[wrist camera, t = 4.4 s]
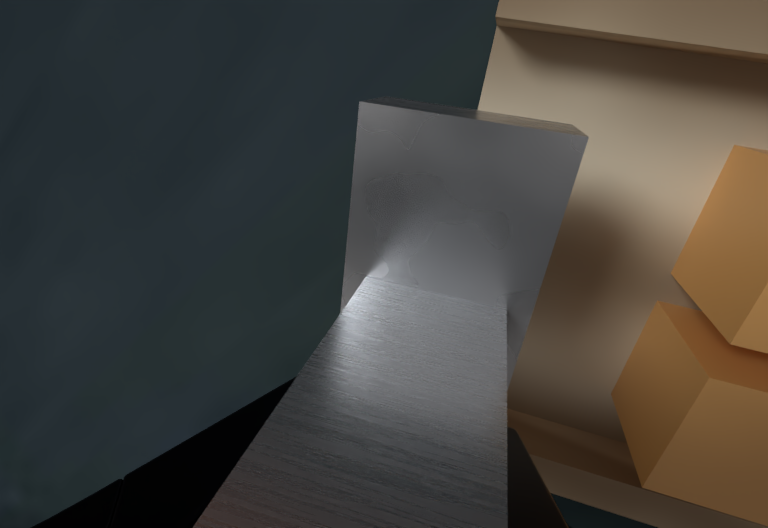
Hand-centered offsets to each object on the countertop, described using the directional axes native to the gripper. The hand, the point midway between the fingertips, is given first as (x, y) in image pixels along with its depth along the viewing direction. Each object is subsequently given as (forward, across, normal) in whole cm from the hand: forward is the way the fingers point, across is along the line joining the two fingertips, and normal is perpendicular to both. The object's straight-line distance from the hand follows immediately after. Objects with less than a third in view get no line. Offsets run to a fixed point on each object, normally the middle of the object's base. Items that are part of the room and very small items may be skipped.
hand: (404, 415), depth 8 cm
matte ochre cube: (+8, -9, +2) cm, 12 cm away
